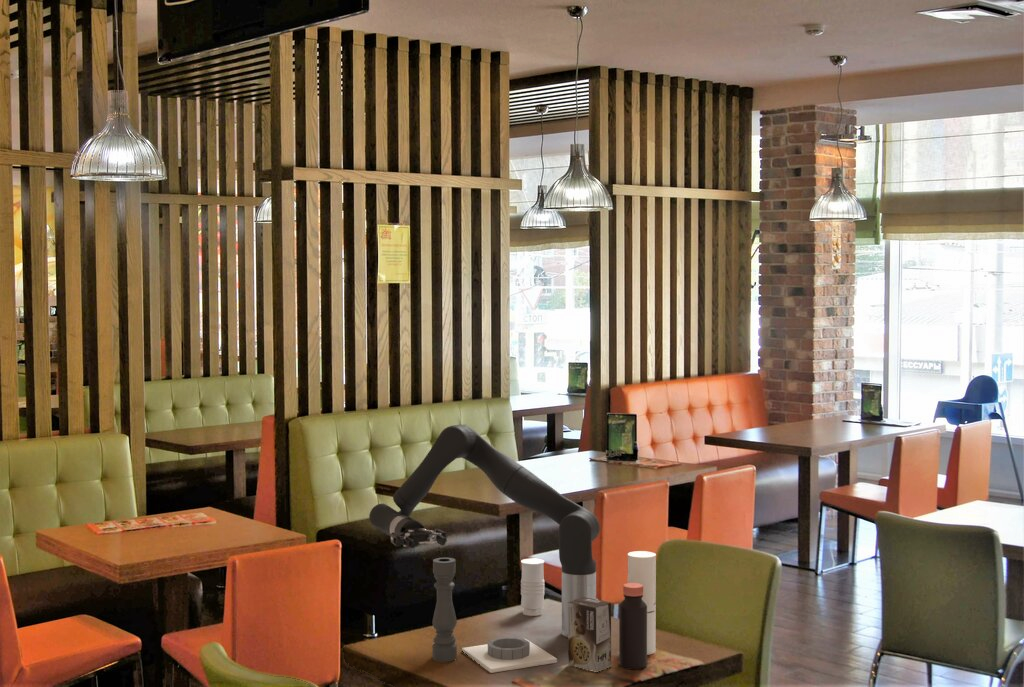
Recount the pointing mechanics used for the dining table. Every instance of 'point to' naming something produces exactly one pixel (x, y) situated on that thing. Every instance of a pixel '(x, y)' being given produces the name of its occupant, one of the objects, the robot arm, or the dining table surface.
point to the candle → (532, 586)
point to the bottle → (633, 628)
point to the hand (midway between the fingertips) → (428, 543)
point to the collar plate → (508, 664)
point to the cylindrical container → (645, 589)
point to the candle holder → (444, 611)
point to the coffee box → (589, 634)
